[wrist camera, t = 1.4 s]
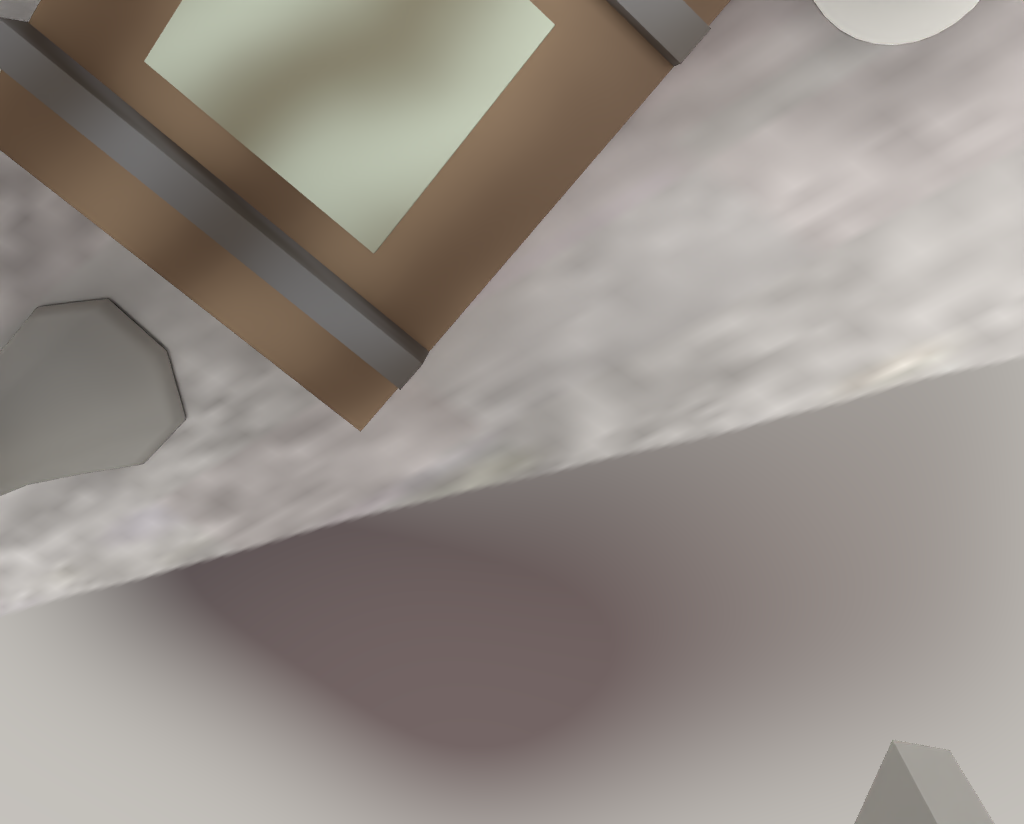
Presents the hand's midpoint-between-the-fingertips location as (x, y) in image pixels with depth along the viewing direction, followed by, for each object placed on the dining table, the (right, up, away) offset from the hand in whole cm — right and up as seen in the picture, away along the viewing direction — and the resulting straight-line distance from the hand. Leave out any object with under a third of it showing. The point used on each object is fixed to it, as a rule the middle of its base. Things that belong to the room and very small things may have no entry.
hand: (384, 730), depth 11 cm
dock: (-3, +17, +17) cm, 24 cm away
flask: (-15, +5, +22) cm, 27 cm away
